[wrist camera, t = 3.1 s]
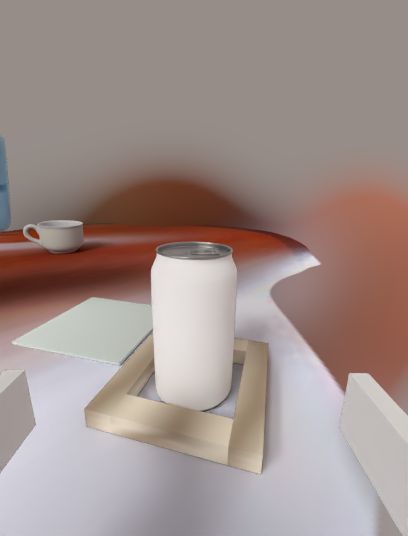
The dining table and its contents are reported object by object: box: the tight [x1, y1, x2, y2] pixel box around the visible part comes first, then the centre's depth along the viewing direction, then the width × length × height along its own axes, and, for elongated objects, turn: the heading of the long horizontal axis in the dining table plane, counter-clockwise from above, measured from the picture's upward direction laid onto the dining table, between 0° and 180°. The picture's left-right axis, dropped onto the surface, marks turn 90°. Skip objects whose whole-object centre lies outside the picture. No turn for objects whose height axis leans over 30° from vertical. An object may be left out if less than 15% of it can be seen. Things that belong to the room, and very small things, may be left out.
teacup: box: [23, 220, 83, 254], centre depth 70 cm, size 14×11×8 cm
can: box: [151, 242, 237, 412], centre depth 21 cm, size 6×6×12 cm
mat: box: [12, 297, 153, 366], centre depth 32 cm, size 13×13×1 cm
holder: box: [84, 333, 268, 474], centre depth 22 cm, size 12×12×2 cm
